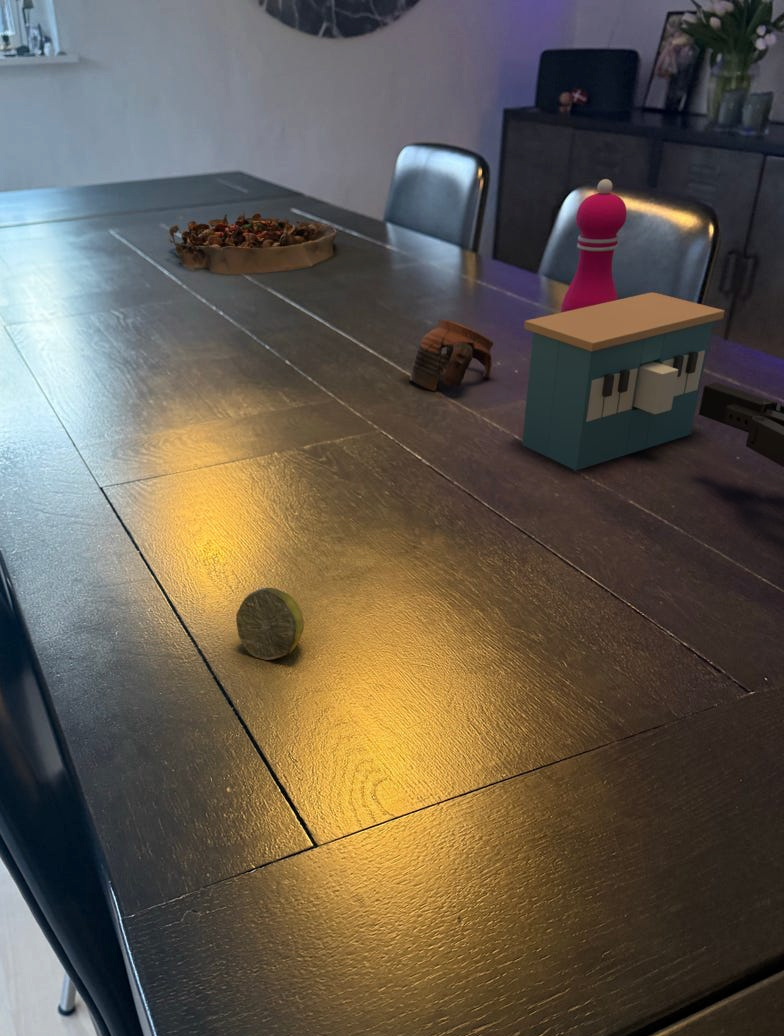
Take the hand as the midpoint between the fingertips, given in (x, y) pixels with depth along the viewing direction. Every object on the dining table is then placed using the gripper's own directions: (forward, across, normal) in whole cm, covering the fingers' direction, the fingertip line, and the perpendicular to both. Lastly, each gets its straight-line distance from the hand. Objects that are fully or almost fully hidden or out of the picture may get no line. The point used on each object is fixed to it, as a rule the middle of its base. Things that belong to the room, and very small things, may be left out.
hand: (707, 398), depth 85 cm
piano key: (+7, 0, -3) cm, 7 cm away
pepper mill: (+37, +22, -8) cm, 44 cm away
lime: (-4, -48, -8) cm, 48 cm away
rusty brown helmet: (+35, -2, -8) cm, 36 cm away
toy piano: (+11, 0, -8) cm, 14 cm away
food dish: (+119, +13, -8) cm, 120 cm away
